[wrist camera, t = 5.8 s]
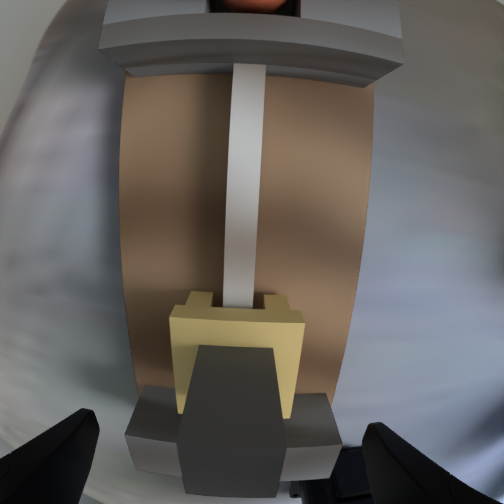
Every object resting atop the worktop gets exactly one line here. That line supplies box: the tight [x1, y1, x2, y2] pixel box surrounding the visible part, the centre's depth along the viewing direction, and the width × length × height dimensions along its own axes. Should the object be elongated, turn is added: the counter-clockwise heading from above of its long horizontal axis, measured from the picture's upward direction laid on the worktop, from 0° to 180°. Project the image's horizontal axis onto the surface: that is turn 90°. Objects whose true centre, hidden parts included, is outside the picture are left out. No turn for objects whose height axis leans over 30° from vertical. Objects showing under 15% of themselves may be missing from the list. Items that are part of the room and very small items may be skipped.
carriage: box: [169, 291, 305, 498], centre depth 11 cm, size 5×5×8 cm
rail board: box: [98, 0, 404, 481], centre depth 12 cm, size 24×11×6 cm, turn 177°
